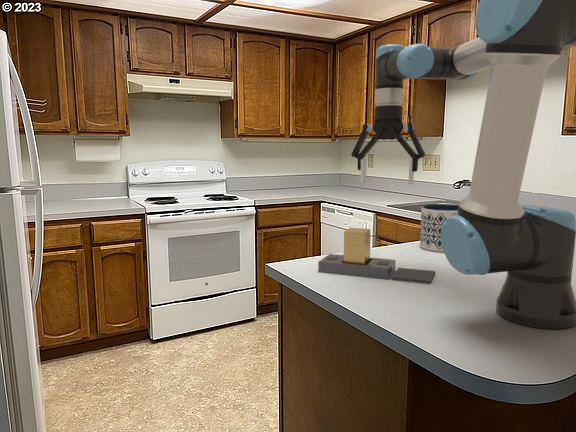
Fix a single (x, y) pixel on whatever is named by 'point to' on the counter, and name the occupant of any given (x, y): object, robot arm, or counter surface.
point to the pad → (414, 275)
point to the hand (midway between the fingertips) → (386, 182)
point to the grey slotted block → (357, 267)
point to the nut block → (357, 246)
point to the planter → (434, 224)
